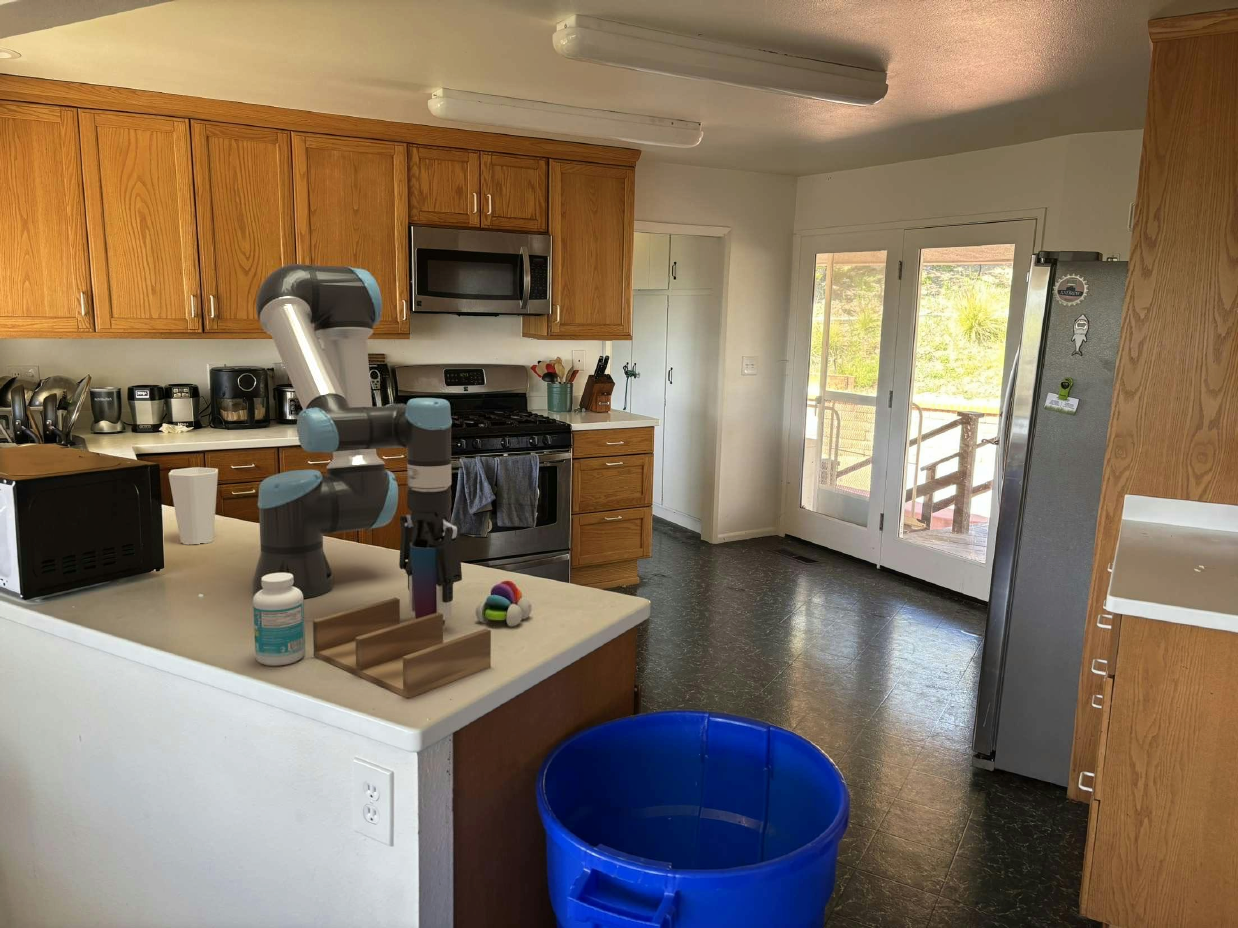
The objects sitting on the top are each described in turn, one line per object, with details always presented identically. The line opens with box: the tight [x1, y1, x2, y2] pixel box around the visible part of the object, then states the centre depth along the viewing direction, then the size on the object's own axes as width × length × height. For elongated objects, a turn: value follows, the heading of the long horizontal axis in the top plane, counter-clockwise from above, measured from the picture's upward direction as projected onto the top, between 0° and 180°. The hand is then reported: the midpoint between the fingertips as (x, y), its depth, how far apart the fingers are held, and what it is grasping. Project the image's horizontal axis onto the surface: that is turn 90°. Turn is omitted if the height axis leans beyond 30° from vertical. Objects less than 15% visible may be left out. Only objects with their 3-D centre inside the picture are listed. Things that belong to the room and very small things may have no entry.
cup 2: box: [410, 539, 446, 627], centre depth 154 cm, size 7×7×15 cm
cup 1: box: [168, 466, 219, 545], centre depth 206 cm, size 11×10×17 cm
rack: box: [312, 597, 492, 699], centre depth 137 cm, size 24×16×6 cm, turn 52°
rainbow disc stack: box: [475, 580, 533, 628], centre depth 158 cm, size 8×10×7 cm
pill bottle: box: [252, 573, 306, 667], centre depth 137 cm, size 8×7×14 cm
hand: (430, 613), depth 154 cm, fingers open, 7 cm apart
